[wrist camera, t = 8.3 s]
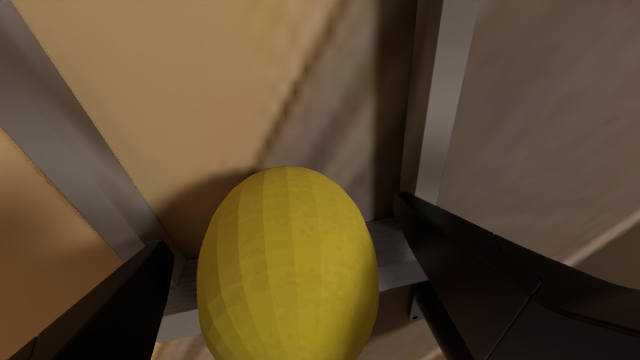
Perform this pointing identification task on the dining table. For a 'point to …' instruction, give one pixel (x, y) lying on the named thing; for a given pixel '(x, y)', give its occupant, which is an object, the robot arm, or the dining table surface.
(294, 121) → the dining table surface
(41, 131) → the channel
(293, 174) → the lemon
